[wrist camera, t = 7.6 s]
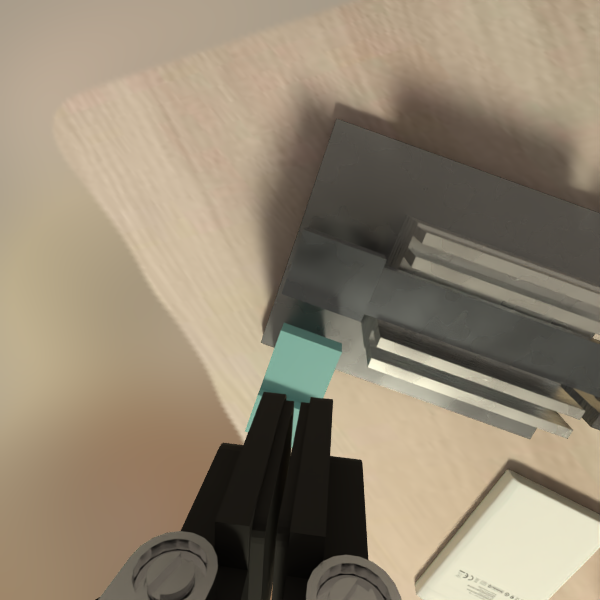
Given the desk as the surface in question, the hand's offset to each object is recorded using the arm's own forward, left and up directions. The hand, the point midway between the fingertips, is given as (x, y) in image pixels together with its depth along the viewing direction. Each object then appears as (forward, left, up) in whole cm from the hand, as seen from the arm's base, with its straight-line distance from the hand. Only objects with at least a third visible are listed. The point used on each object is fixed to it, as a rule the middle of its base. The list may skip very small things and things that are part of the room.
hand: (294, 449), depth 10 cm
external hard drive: (-20, +15, -18) cm, 30 cm away
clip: (0, +3, -16) cm, 16 cm away
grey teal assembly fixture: (-7, -2, -17) cm, 18 cm away
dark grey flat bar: (-7, -2, -12) cm, 14 cm away
